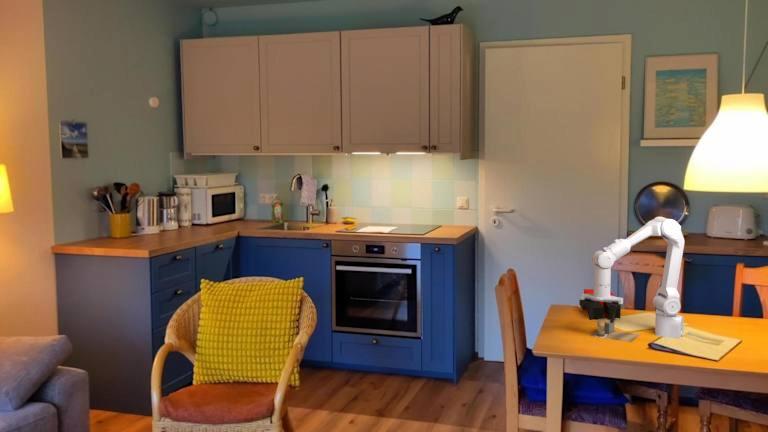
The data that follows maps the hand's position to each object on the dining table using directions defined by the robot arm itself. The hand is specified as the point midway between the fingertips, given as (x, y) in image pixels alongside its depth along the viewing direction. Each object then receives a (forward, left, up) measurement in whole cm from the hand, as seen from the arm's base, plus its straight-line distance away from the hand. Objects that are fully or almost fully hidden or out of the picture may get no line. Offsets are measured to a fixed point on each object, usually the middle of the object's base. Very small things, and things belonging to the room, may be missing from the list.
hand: (601, 321), depth 257 cm
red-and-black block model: (+11, -34, -7) cm, 37 cm away
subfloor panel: (-4, -4, -7) cm, 9 cm away
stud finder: (0, -6, -6) cm, 8 cm away
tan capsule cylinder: (0, 0, -6) cm, 6 cm away
